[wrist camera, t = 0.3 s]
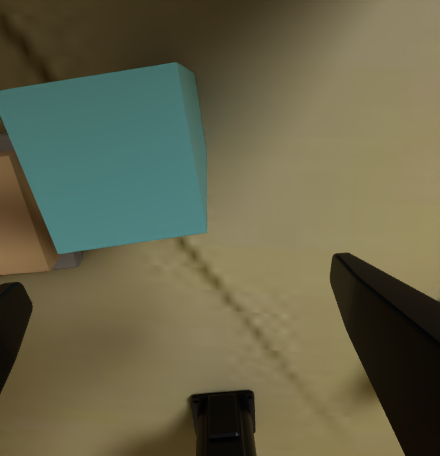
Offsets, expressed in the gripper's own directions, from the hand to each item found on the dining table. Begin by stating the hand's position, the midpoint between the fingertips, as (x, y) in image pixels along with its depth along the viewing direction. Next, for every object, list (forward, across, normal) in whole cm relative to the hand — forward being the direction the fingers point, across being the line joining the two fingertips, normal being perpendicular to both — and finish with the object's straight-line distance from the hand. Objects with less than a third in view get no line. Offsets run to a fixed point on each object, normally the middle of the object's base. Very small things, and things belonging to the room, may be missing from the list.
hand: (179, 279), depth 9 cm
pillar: (+15, +2, -2) cm, 15 cm away
